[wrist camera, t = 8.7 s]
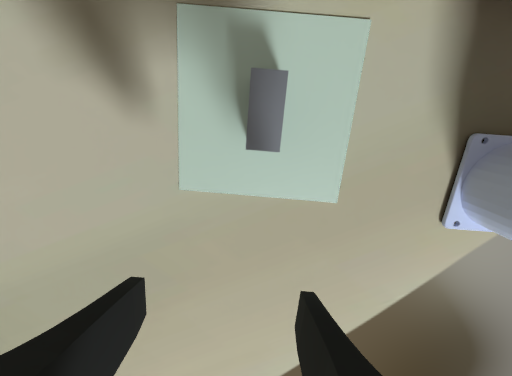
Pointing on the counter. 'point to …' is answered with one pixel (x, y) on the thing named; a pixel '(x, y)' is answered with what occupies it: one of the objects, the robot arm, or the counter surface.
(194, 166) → the lid
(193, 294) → the counter surface
